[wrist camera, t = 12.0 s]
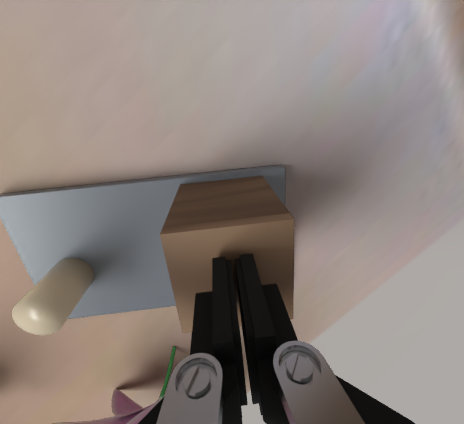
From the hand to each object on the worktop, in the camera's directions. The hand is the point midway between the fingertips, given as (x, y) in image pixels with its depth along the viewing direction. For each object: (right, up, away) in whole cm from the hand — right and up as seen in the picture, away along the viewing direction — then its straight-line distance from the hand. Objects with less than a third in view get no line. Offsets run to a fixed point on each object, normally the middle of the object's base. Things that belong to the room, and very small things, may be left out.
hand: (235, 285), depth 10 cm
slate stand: (-5, +1, +8) cm, 9 cm away
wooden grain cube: (-1, +3, +6) cm, 7 cm away
